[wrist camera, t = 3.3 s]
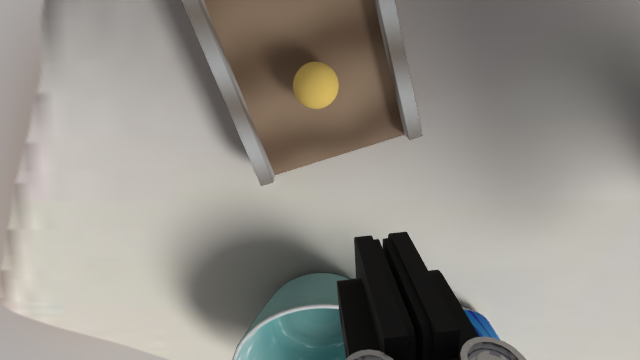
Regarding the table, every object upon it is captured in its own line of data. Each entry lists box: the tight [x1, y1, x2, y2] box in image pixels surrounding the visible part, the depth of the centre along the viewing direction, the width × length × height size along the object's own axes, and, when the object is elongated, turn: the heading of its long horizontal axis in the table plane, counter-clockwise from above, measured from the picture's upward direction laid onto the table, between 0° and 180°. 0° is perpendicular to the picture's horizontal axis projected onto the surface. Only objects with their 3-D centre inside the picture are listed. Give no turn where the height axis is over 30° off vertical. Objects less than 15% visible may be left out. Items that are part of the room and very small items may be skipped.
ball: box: [293, 62, 339, 109], centre depth 24 cm, size 3×3×3 cm
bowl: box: [233, 273, 349, 360], centre depth 33 cm, size 16×16×8 cm
